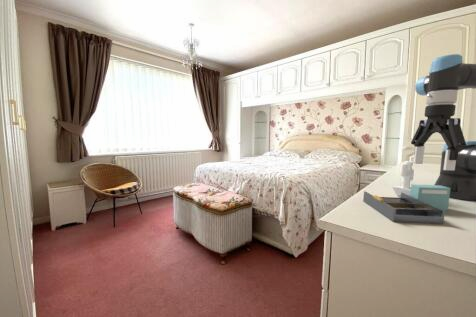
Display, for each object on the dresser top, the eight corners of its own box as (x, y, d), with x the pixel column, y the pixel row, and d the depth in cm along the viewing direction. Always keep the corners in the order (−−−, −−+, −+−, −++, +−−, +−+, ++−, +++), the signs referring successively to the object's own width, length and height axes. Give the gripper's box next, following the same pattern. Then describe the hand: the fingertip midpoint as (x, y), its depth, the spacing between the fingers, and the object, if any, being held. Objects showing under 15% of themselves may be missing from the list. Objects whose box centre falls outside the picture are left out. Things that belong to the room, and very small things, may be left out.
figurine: (419, 196, 91) (423, 161, 89) (411, 200, 85) (415, 163, 83) (398, 192, 97) (402, 159, 95) (390, 195, 91) (393, 160, 89)
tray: (401, 202, 82) (402, 191, 82) (443, 224, 64) (445, 209, 63) (362, 201, 84) (363, 189, 83) (392, 221, 65) (393, 207, 64)
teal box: (437, 206, 79) (440, 185, 78) (447, 210, 75) (450, 188, 74) (408, 205, 80) (411, 184, 79) (416, 209, 76) (419, 187, 75)
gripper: (404, 108, 85) (398, 161, 88) (462, 99, 61) (451, 173, 63) (424, 108, 84) (417, 161, 87) (491, 99, 60) (479, 174, 63)
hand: (432, 166), depth 75 cm, fingers open, 13 cm apart
